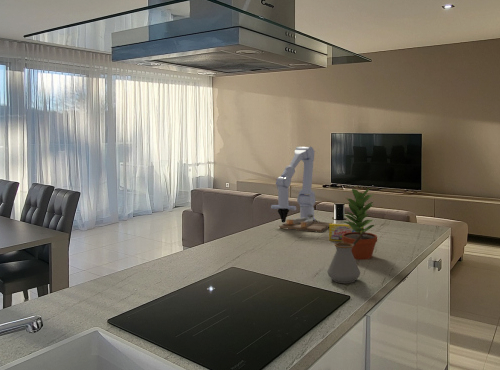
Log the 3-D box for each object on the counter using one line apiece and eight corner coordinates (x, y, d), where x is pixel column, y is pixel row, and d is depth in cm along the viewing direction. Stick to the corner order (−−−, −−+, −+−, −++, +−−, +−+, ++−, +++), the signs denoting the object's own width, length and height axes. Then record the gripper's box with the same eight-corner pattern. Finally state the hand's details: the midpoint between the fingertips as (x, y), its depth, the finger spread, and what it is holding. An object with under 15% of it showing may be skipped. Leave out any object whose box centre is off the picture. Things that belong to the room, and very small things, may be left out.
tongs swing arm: (304, 221, 258) (304, 217, 258) (307, 222, 256) (307, 217, 256) (286, 224, 251) (286, 219, 251) (288, 224, 249) (288, 220, 249)
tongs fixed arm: (308, 221, 260) (308, 214, 259) (315, 221, 258) (315, 214, 257) (297, 226, 244) (297, 219, 244) (304, 227, 243) (304, 220, 242)
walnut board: (292, 222, 265) (292, 219, 265) (332, 225, 254) (332, 222, 254) (279, 228, 248) (279, 225, 248) (321, 232, 237) (321, 229, 237)
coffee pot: (350, 287, 153) (350, 244, 151) (321, 280, 160) (321, 239, 159) (378, 272, 169) (378, 233, 167) (350, 266, 176) (351, 229, 175)
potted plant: (338, 251, 199) (339, 183, 195) (374, 251, 197) (375, 183, 194) (341, 261, 184) (342, 188, 181) (380, 261, 182) (381, 187, 179)
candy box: (328, 241, 219) (328, 224, 218) (329, 240, 221) (329, 223, 220) (363, 242, 214) (363, 225, 213) (363, 241, 216) (363, 224, 215)
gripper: (268, 198, 251) (268, 222, 253) (292, 199, 245) (292, 224, 246) (273, 196, 257) (274, 220, 259) (297, 198, 251) (297, 222, 252)
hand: (283, 222), depth 253 cm, fingers closed
